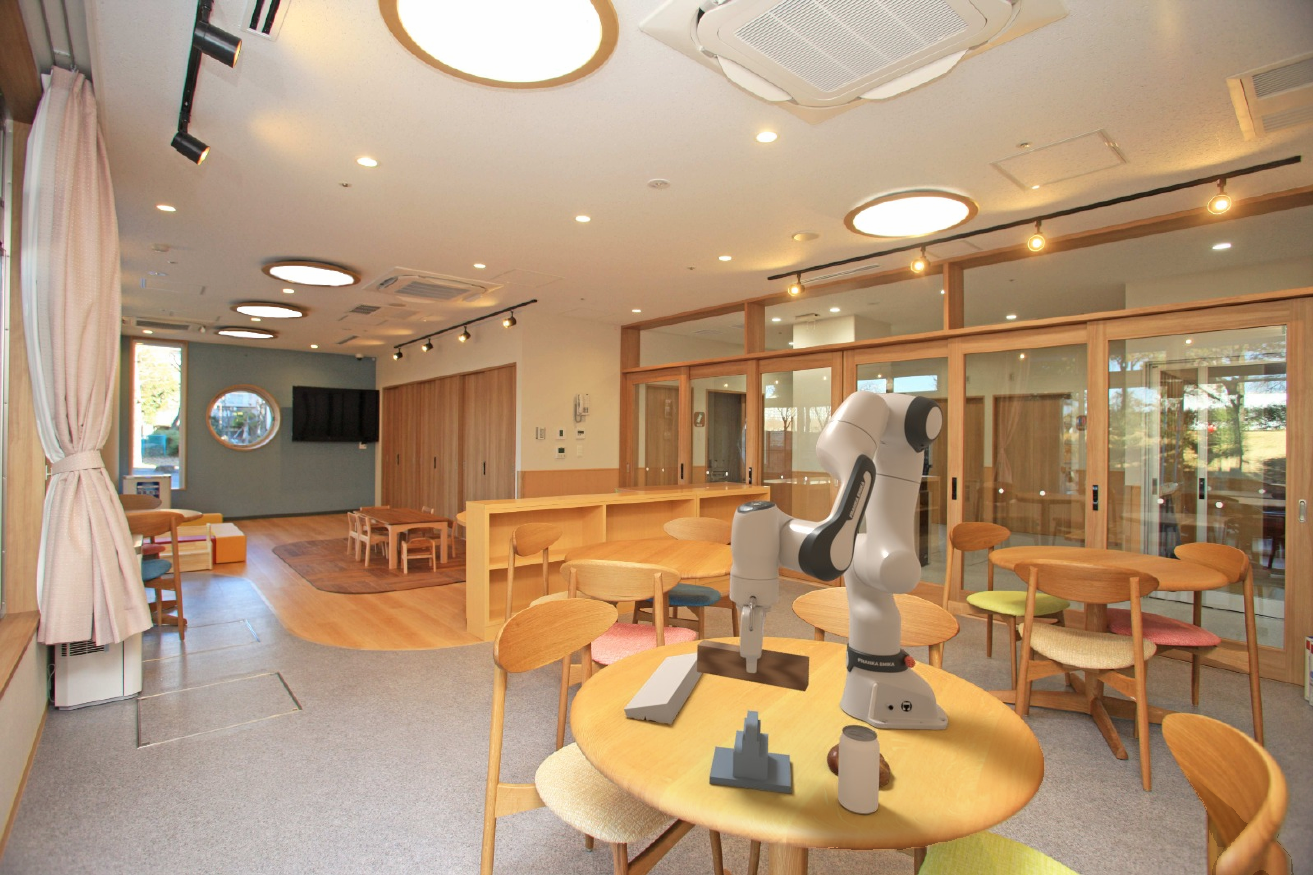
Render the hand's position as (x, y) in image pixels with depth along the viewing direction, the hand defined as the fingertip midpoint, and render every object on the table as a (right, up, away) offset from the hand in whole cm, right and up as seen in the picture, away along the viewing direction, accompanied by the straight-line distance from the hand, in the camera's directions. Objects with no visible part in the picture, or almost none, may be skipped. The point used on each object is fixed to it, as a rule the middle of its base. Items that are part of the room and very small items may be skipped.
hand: (752, 666), depth 114 cm
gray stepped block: (0, -19, 0) cm, 19 cm away
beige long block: (-15, -20, +36) cm, 43 cm away
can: (+16, -20, -10) cm, 27 cm away
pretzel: (+20, -20, +1) cm, 28 cm away
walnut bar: (0, -2, 0) cm, 2 cm away
